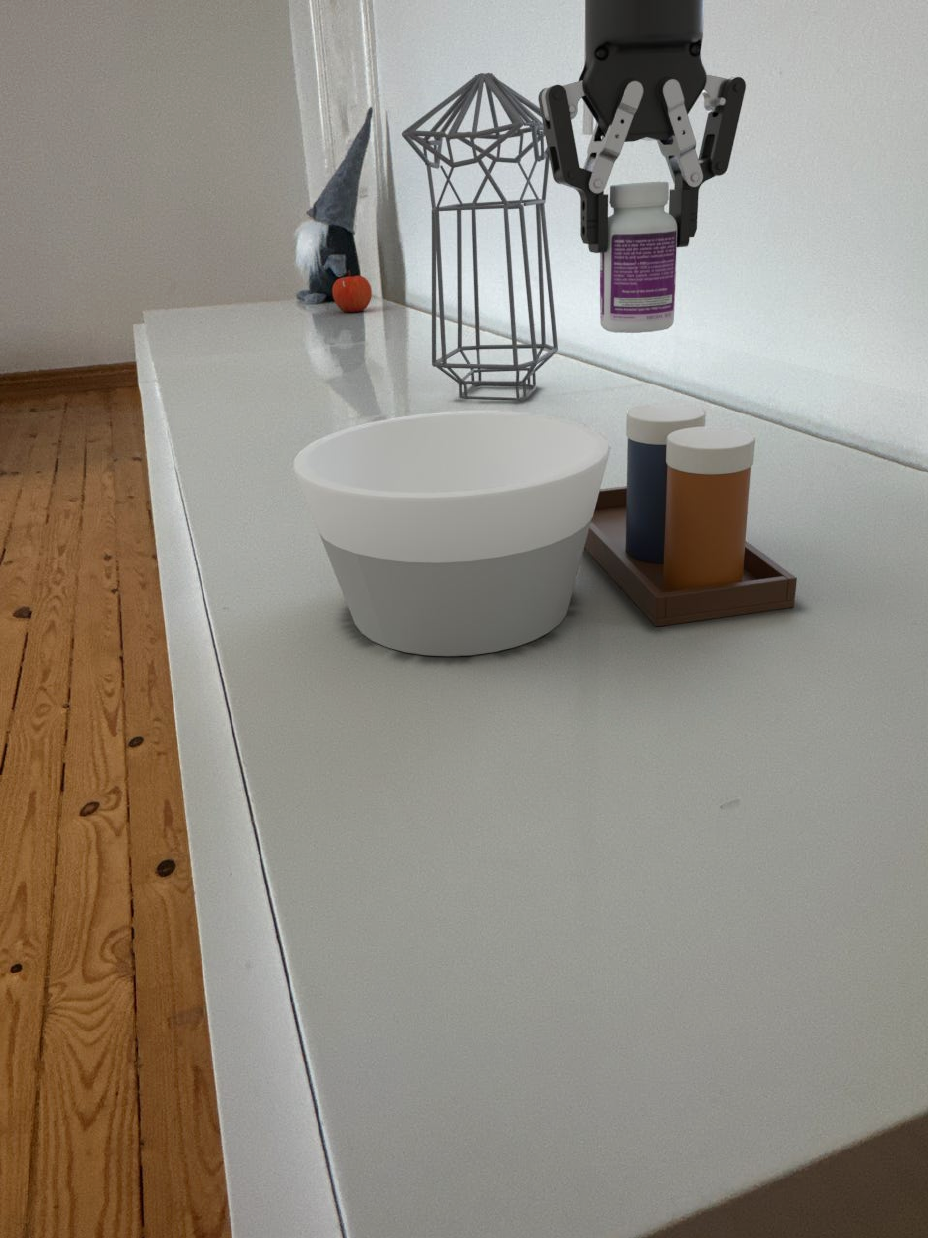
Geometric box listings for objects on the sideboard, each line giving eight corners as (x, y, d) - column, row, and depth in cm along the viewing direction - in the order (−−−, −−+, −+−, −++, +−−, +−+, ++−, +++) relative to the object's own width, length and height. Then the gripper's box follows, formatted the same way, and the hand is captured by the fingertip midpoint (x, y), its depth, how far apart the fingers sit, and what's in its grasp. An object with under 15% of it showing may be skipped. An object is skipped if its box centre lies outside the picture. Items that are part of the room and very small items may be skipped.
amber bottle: (721, 568, 66) (731, 422, 61) (757, 597, 61) (770, 442, 57) (649, 577, 65) (653, 430, 60) (680, 608, 60) (687, 452, 56)
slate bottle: (680, 533, 72) (686, 399, 68) (710, 558, 67) (718, 416, 63) (613, 542, 71) (615, 407, 67) (639, 568, 66) (643, 424, 62)
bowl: (661, 642, 57) (668, 466, 53) (341, 704, 53) (318, 517, 48) (545, 538, 74) (542, 398, 69) (295, 578, 69) (274, 430, 65)
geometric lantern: (542, 410, 111) (534, 61, 96) (415, 407, 116) (389, 75, 101) (572, 381, 124) (570, 71, 110) (457, 380, 129) (440, 82, 114)
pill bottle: (690, 326, 69) (696, 179, 65) (635, 336, 67) (638, 184, 63) (637, 319, 74) (640, 181, 69) (584, 329, 71) (584, 185, 67)
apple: (363, 314, 192) (359, 271, 189) (327, 314, 195) (322, 272, 192) (380, 308, 199) (376, 267, 196) (345, 308, 202) (341, 268, 198)
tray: (664, 504, 79) (664, 481, 79) (794, 607, 61) (797, 577, 60) (556, 517, 78) (556, 494, 77) (656, 627, 59) (657, 597, 58)
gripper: (551, -48, 56) (555, 260, 63) (780, -54, 58) (758, 245, 66) (519, -25, 63) (526, 252, 70) (725, -30, 65) (711, 239, 72)
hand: (638, 247), depth 68 cm, fingers closed on pill bottle, 5 cm apart
